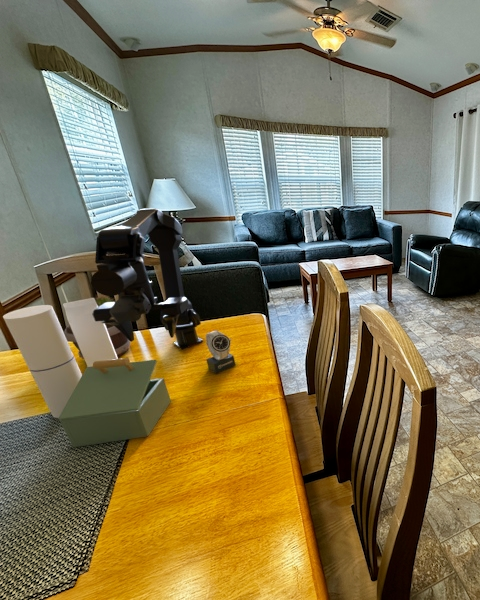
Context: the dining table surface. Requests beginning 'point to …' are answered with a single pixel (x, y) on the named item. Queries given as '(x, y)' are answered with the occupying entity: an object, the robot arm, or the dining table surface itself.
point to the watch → (219, 352)
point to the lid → (109, 388)
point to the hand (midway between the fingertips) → (152, 338)
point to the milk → (89, 331)
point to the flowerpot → (116, 336)
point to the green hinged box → (120, 420)
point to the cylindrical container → (45, 353)
